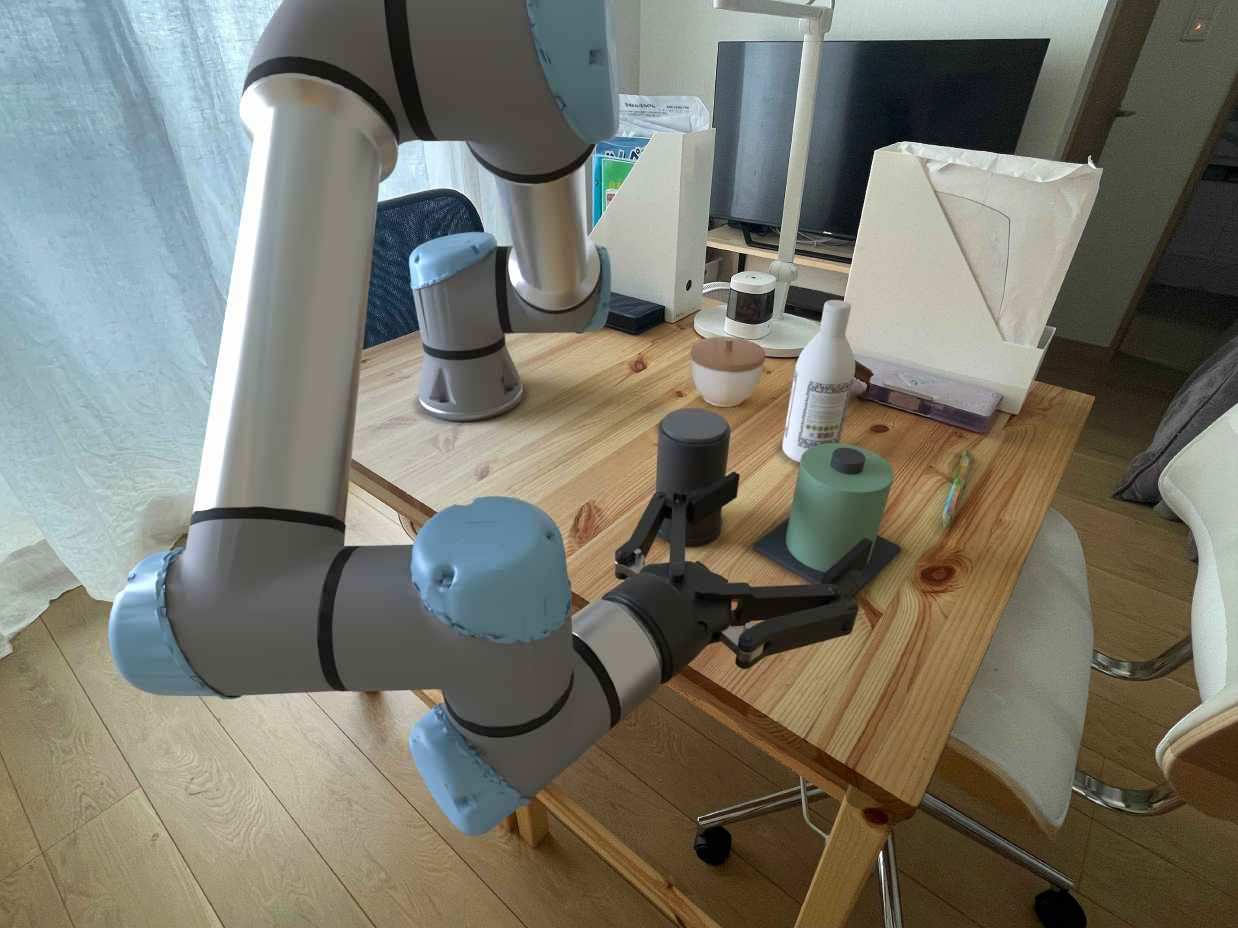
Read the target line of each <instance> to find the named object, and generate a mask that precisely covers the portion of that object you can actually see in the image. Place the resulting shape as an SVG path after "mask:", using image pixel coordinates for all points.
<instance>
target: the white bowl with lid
mask: <svg viewBox="0 0 1238 928" xmlns="http://www.w3.org/2000/svg"><path fill="white" fill-rule="evenodd" d="M690 357H691V358H690V373H691V374H690V375H691V378H692V384H693V386H694V388H695V389H696V391H697V392H698V394H700V396H702V398H703V400H704V401H705V402H706V403H708V404H709V405H712V406H716V407H721V408H732V407H737V406H739V405H741V404H743V402H744V401H745V400H746V399H748V398H749V397H750V396H751V395H752V394H753V393H754V392H755V391H756V390H757V387H758V384H759V383H760V380H761V378H762V373H763V369H764V364H765V360H766V351H765V349H764V348H763V346H761V345H760V344H758V343H757V342H754V341H751V340H748V339H745V338H740V337H734V336H714V337H713V336H712V337H706V338H702V339H700V340H698V341H696V342H695V343H694V344H693V345H692V346H691V349H690Z"/></svg>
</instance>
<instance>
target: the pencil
mask: <svg viewBox="0 0 1238 928" xmlns="http://www.w3.org/2000/svg"><path fill="white" fill-rule="evenodd" d="M974 456H975V455H974V452H973V451H972V450H969V449H966V450H964V451H963V452H962V455H961V458H960V461H959V464H958V468H957V471H956V473H955V477H954V479H953V483H952V486H951V488H950V492H949V495H948V498H947V501H946V502H945V503H946V504H945V507H944V509H943V512H942V515H941V519H942V524H943V529H946V528H947V527H948V526H949V525H950V524H951V523H952V522H953V521H954V519H955V516H956V513H957V509H958V506H959V502H960V499H961V496H962V492H963V489H964V486H965V484H966V479H967V477H968V473H969V470H970V467H971V464H972V461H973V457H974Z"/></svg>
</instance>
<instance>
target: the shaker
mask: <svg viewBox="0 0 1238 928" xmlns="http://www.w3.org/2000/svg"><path fill="white" fill-rule="evenodd" d="M731 433H732V429H731V426H730V424H729V422H728V421H727V420H726V419H725V417H723V416H722V415H721V414H719V413H717V412H715V411H713V410H709V409H706V408H700V407H684V408H679V409H675V410H672V411H670V412H668V413H667V414H666V415H665V416H664V417H662V418H661V419H660V421H659V423H658V431H657V452H656V453H657V454H656V458H657V459H656V476H655V477H656V478H655V493H656V492H664V493H665V494H666V495H667V497H666V498H670V499H673V493H674V492H675V491H677V490H682V491H685V492H686V494H689V493H691V492H692V491H694V490H695V489H697V488H700V487H704V488H708V487H709V486H711V485H712V484H714V483H716V482H717V481H719V480H721V479H722V478H724V477H725V476H727V466H728V459H729V451H730V441H731V435H732V434H731ZM722 512H723V507H722V508H720V509H719V510H717V511H716V512H714V513H713V514H711V515H710V516H708V517H707V518H705V519H704V520H702V521H701V522H699V523H698V524H696V525H695V526H692V525H691V524H689V523H687V520H688V518H686V527H685V548H700V547H703V546H706V545H709V544H711V543H713V542H715V540H717V539H718V538H719V536H720V535H721V532H722V527H723V517H722ZM671 522H672V520H670V519H667V518H665V519H664V521H663V523H662V525H661V527H660V529H659V531H658V534H657V536H658V537H659V538H660V539H661V540H662V541H664V542H666V543H668V544H670V540H671Z"/></svg>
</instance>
